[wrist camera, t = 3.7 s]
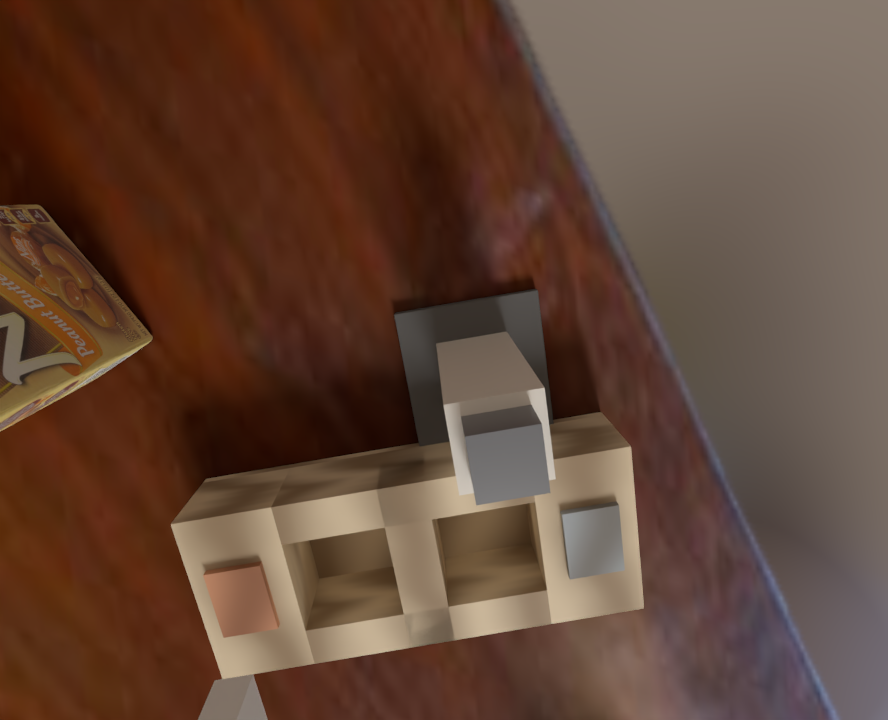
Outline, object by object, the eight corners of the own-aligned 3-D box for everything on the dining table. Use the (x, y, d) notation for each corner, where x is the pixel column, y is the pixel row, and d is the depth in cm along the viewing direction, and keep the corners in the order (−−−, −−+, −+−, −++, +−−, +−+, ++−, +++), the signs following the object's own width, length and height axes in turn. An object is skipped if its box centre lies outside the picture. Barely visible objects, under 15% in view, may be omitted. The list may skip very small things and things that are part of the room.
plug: (447, 409, 33) (462, 521, 21) (436, 343, 32) (445, 424, 20) (515, 398, 33) (568, 504, 21) (506, 331, 32) (556, 405, 20)
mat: (419, 442, 34) (419, 446, 33) (394, 312, 32) (394, 314, 31) (551, 420, 34) (553, 424, 33) (535, 288, 32) (537, 290, 31)
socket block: (248, 616, 37) (220, 684, 31) (206, 478, 34) (167, 528, 29) (614, 554, 37) (646, 613, 31) (600, 411, 34) (633, 449, 29)
